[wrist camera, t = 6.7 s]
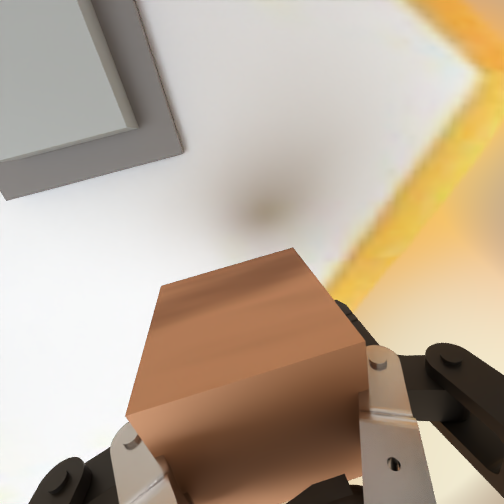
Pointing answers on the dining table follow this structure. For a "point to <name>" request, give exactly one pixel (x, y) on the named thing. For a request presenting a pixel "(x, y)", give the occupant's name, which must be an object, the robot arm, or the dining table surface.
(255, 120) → the dining table surface
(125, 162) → the base
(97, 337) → the dining table surface
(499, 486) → the robot arm
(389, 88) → the dining table surface
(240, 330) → the cube
